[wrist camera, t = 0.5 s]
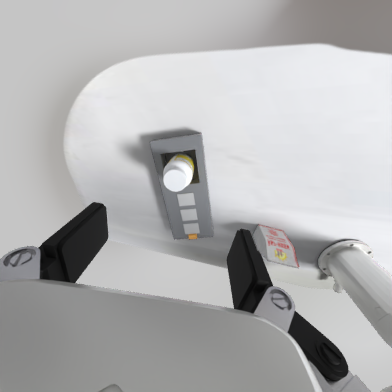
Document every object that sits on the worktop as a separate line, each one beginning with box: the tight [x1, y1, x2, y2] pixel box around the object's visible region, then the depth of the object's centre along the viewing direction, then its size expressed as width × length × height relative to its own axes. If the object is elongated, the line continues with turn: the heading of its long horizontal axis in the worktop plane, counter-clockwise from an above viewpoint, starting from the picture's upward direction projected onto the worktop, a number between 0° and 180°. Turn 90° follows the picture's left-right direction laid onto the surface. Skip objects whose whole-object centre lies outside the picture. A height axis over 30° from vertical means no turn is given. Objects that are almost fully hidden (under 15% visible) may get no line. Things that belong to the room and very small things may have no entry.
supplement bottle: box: [163, 153, 194, 192], centre depth 32 cm, size 5×5×10 cm
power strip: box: [150, 133, 213, 239], centre depth 37 cm, size 24×10×4 cm, turn 8°
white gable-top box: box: [253, 224, 299, 268], centre depth 38 cm, size 4×7×10 cm, turn 76°
